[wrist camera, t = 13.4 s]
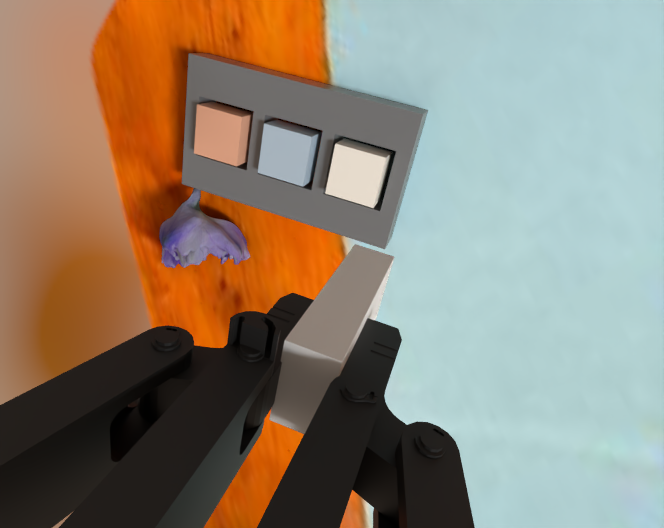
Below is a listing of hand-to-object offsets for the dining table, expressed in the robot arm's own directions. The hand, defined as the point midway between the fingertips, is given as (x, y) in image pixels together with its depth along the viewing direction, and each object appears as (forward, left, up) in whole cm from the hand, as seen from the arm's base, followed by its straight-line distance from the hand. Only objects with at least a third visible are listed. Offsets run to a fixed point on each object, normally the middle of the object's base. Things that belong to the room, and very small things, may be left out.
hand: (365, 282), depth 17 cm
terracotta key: (+3, -19, -25) cm, 31 cm away
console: (+3, -13, -26) cm, 29 cm away
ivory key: (+3, -6, -25) cm, 26 cm away
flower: (+13, -21, -27) cm, 36 cm away
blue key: (+3, -12, -25) cm, 28 cm away
